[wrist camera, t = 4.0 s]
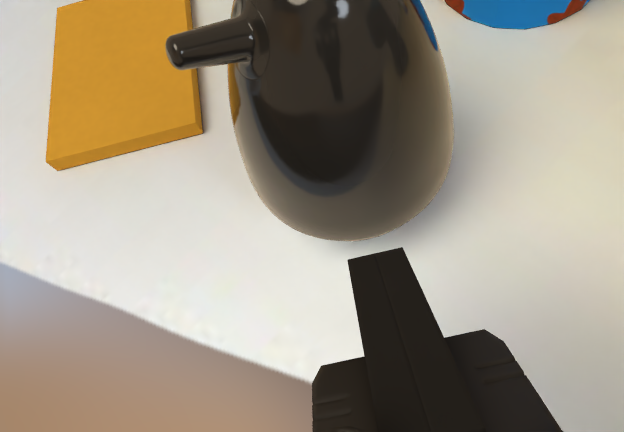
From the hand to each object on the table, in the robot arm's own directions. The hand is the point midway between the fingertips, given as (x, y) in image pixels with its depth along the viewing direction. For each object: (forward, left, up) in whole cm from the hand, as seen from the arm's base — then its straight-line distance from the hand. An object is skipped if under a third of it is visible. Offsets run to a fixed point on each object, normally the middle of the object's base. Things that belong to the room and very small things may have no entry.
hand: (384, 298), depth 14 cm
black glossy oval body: (+9, -4, -12) cm, 15 cm away
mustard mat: (+27, +2, -11) cm, 29 cm away
